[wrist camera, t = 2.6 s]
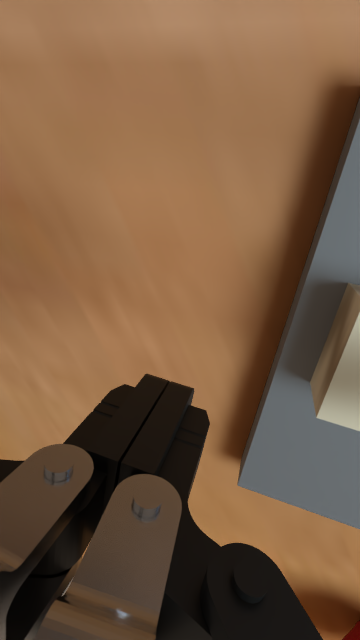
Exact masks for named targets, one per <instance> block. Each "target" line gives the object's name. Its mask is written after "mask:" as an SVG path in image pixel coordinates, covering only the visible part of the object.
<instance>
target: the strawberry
mask: <svg viewBox="0 0 360 640" xmlns="http://www.w3.org/2000/svg"><path fill="white" fill-rule="evenodd" d="M342 640H360V620H359V621H358V622H357V623H356V625H355V627H354V628H353V629H352V630H351V631H350V632H349V633H348V634H347V635H346V636H345V637H344V638H343V639H342Z"/></svg>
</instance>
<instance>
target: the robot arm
mask: <svg viewBox="0 0 360 640" xmlns="http://www.w3.org/2000/svg"><path fill="white" fill-rule="evenodd" d="M193 394H194V388H191V387H188V386H184V385H181V384H178V383H175V382H172V381H171V382H170V381H168V380H165V379H162V378H159V377H156V376H152V375H149V374H145V375H144V377H143V378H142V379H141V381H140V382H139V383H138V384H137V386H136V387H132V386H129V385H126V384H124V385H122V386H120V387H117V388H115V389H113V390H111V391H110V392H109V393H108V394H107V395H106V396H105V397H104V399H103V400H102V401H101V403H99V404H98V405H97V406H96V407H95V409H94V411H93V412H91V413H90V414H89V415H88V416H87V417H86V419H85V420H84V421H83V422H82V423H81V424H80V425H79V426H78V427H77V429H76V430H75V431H74V432H73V433H72V434H71V435H70V436H69V438H68V439H67V440H66V441H65V442H64V443H63V444H55V445H50V446H47V447H44V448H42V449H40V450H38V451H36V452H35V453H33V454H32V455H31V456H30V457H29V458H28V459H26V460H25V461H13V460H1V459H0V640H323V639H322V637H321V636H320V634H319V632H318V631H317V629H316V628H315V626H314V624H313V623H312V621H311V619H310V618H309V616H308V615H307V613H306V611H305V610H304V608H303V606H302V605H301V603H300V602H299V600H298V598H297V597H296V595H295V593H294V592H293V590H292V589H291V587H290V585H289V584H288V582H287V580H286V579H285V577H284V576H283V574H282V572H281V571H280V569H279V568H278V567H277V565H276V564H275V563H274V562H273V561H272V559H270V558H269V557H268V556H267V555H266V554H265V553H263V552H262V551H260V550H259V549H257V548H255V547H253V546H250V545H247V544H243V543H231V544H227V545H224V546H222V547H221V546H219V545H218V544H217V543H216V542H214V541H213V540H212V539H211V538H209V537H208V536H207V535H206V534H205V533H203V532H202V531H201V530H200V528H199V527H198V526H197V525H196V523H195V522H194V520H193V518H192V516H191V514H190V511H189V508H188V498H189V495H190V491H191V488H192V485H193V482H194V478H195V475H196V472H197V468H198V465H199V461H200V458H201V454H202V450H203V447H204V443H205V439H206V436H207V432H208V428H209V425H210V422H209V419H208V415H207V412H206V410H203V409H200V408H197V407H194V406H191V402H192V398H193ZM89 542H90V543H89ZM88 544H89V546H88ZM87 546H88V548H87ZM86 548H87V550H86ZM85 550H86V552H85V554H84V556H83V558H82V555H83V553H84V551H85ZM73 577H74V578H73ZM72 579H73V580H72ZM71 580H72V582H71ZM70 582H71V584H70V586H69V588H68V590H67V591H66V593H65V595H63V596H62V594H63V593H64V591H65V590H66V588H67V587H68V585H69V583H70Z"/></svg>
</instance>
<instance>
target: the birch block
mask: <svg viewBox="0 0 360 640" xmlns="http://www.w3.org/2000/svg"><path fill="white" fill-rule="evenodd" d="M310 385H311V391H312V396H313V402H314V408H315V413H316V418H318V419H322V420H325V421H328V422H331V423H335V424H338V425H341V426H344V427H348V428H351V429H354V430H357V431H360V285H356V284H351V283H348V285H347V287H346V290H345V293H344V295H343V298H342V300H341V303H340V306H339V308H338V311H337V314H336V316H335V319H334V321H333V324H332V327H331V329H330V332H329V334H328V337H327V340H326V342H325V345H324V347H323V350H322V353H321V355H320V358H319V361H318V363H317V366H316V368H315V371H314V374H313V376H312V379H311V381H310Z"/></svg>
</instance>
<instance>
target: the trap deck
mask: <svg viewBox="0 0 360 640" xmlns="http://www.w3.org/2000/svg"><path fill="white" fill-rule="evenodd" d="M348 283H351V284H356V285H360V98H359V101H358V104H357V107H356V110H355V113H354V116H353V119H352V122H351V125H350V128H349V131H348V135H347V138H346V141H345V144H344V147H343V150H342V153H341V156H340V159H339V162H338V165H337V168H336V171H335V174H334V177H333V180H332V183H331V187H330V190H329V193H328V196H327V199H326V202H325V205H324V208H323V211H322V214H321V217H320V220H319V223H318V226H317V229H316V232H315V235H314V239H313V242H312V245H311V248H310V251H309V254H308V257H307V260H306V263H305V266H304V269H303V272H302V275H301V278H300V281H299V284H298V287H297V291H296V294H295V297H294V300H293V303H292V306H291V309H290V312H289V315H288V318H287V321H286V324H285V327H284V330H283V333H282V336H281V339H280V343H279V346H278V349H277V352H276V355H275V358H274V361H273V364H272V367H271V370H270V373H269V376H268V379H267V382H266V385H265V388H264V391H263V395H262V398H261V401H260V404H259V407H258V410H257V413H256V416H255V419H254V422H253V425H252V428H251V431H250V434H249V437H248V440H247V443H246V447H245V450H244V453H243V456H242V459H241V464H240V471H239V478H238V486H240V487H243V488H246V489H249V490H252V491H254V492H257V493H260V494H263V495H266V496H268V497H271V498H274V499H277V500H280V501H282V502H285V503H288V504H291V505H294V506H296V507H299V508H302V509H305V510H307V511H310V512H313V513H316V514H319V515H321V516H324V517H327V518H330V519H333V520H335V521H338V522H341V523H344V524H347V525H349V526H352V527H355V528H358V529H360V431H357V430H354V429H351V428H348V427H344V426H341V425H338V424H335V423H331V422H328V421H325V420H322V419H318V418H316V413H315V408H314V402H313V396H312V391H311V385H310V381H311V379H312V376H313V374H314V371H315V368H316V366H317V363H318V361H319V358H320V355H321V353H322V350H323V347H324V345H325V342H326V340H327V337H328V334H329V332H330V329H331V327H332V324H333V321H334V319H335V316H336V314H337V311H338V308H339V306H340V303H341V300H342V298H343V295H344V293H345V290H346V287H347V285H348Z"/></svg>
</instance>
